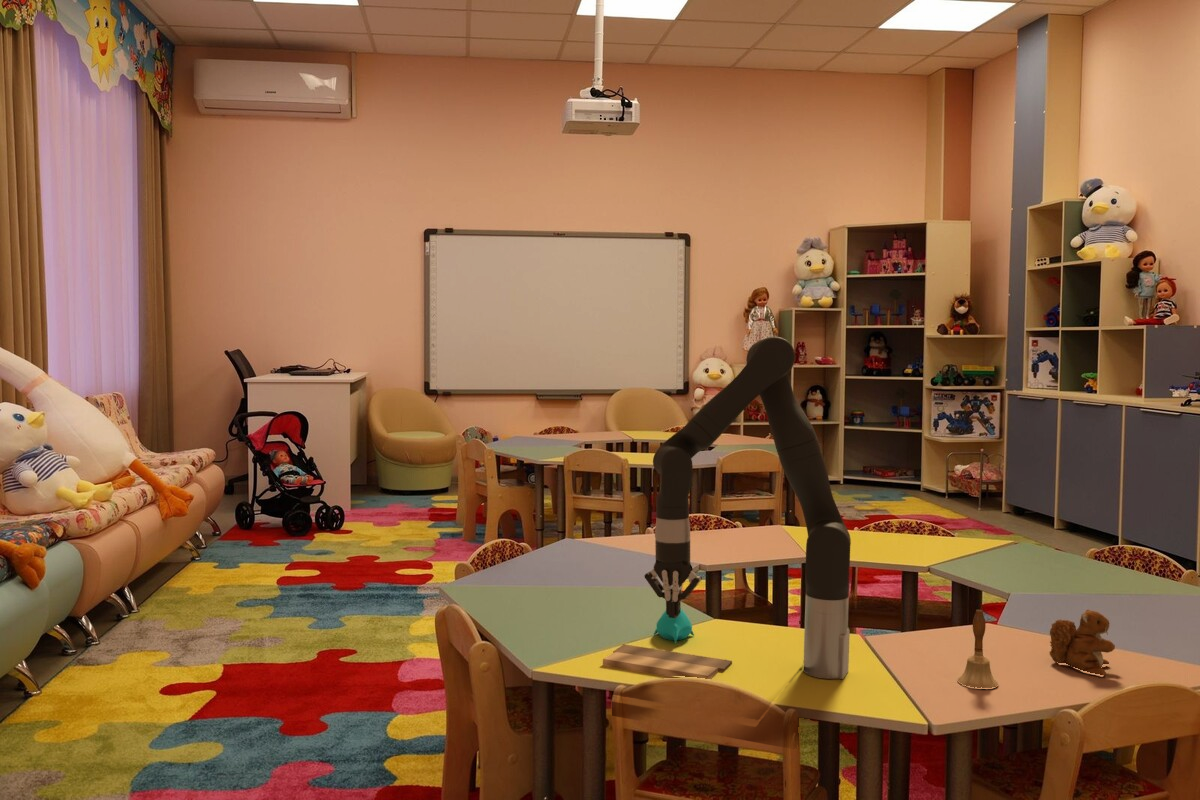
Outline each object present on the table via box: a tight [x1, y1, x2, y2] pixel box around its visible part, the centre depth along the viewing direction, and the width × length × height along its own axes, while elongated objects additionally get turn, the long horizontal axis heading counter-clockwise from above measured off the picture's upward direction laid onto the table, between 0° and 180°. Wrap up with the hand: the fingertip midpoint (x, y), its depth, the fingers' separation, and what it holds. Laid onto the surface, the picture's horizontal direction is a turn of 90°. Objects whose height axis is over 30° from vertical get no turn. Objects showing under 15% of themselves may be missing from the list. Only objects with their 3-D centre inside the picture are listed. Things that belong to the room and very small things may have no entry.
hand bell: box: [957, 609, 999, 688], centre depth 217 cm, size 8×8×16 cm
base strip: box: [612, 644, 733, 673], centre depth 227 cm, size 26×6×2 cm, turn 66°
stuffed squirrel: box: [1049, 609, 1116, 676], centre depth 230 cm, size 10×14×13 cm
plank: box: [602, 652, 719, 680], centre depth 221 cm, size 24×7×2 cm, turn 66°
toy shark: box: [653, 608, 695, 644], centre depth 243 cm, size 10×18×11 cm, turn 178°
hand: (673, 617), depth 221 cm, fingers closed
